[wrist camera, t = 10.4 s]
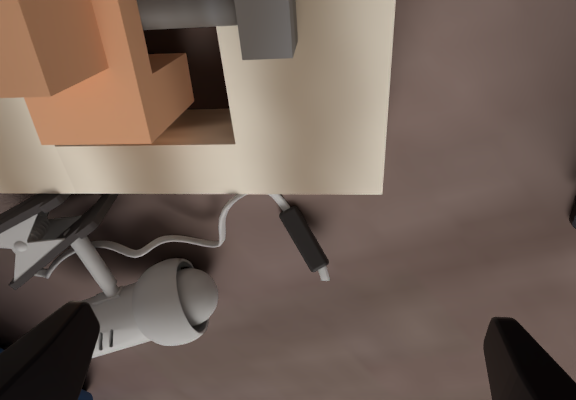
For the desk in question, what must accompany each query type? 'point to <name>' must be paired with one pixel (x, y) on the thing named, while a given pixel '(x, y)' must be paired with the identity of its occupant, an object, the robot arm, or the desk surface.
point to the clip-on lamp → (152, 283)
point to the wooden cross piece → (89, 72)
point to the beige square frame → (243, 110)
